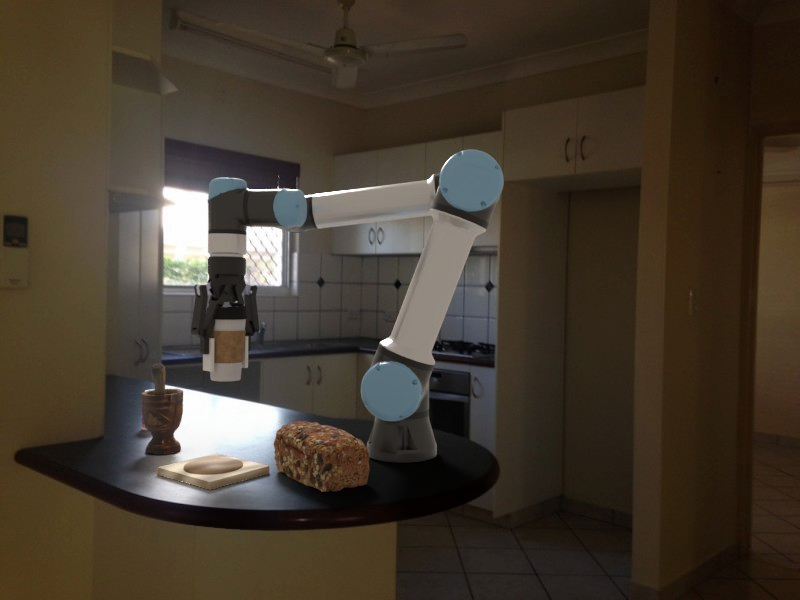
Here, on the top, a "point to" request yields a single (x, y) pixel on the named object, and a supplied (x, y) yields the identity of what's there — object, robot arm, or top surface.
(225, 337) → the coffee cup
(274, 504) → the top surface
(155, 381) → the mortar and pestle
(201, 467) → the board
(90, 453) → the top surface
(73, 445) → the top surface
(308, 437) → the bread
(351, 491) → the top surface
